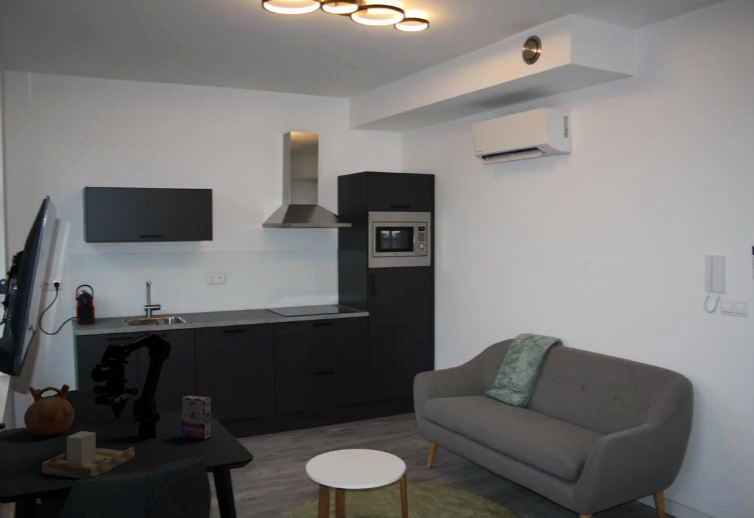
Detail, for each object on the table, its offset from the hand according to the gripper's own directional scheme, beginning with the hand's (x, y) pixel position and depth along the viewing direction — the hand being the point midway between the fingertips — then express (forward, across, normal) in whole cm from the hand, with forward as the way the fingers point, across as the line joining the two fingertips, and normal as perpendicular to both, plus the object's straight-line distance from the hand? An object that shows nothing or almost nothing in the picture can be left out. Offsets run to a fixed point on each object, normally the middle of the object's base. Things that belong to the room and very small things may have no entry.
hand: (117, 418), depth 250 cm
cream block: (+10, +22, +1) cm, 24 cm away
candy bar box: (+12, -22, +21) cm, 33 cm away
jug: (+12, -9, -39) cm, 42 cm away
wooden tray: (+12, +17, +1) cm, 21 cm away
